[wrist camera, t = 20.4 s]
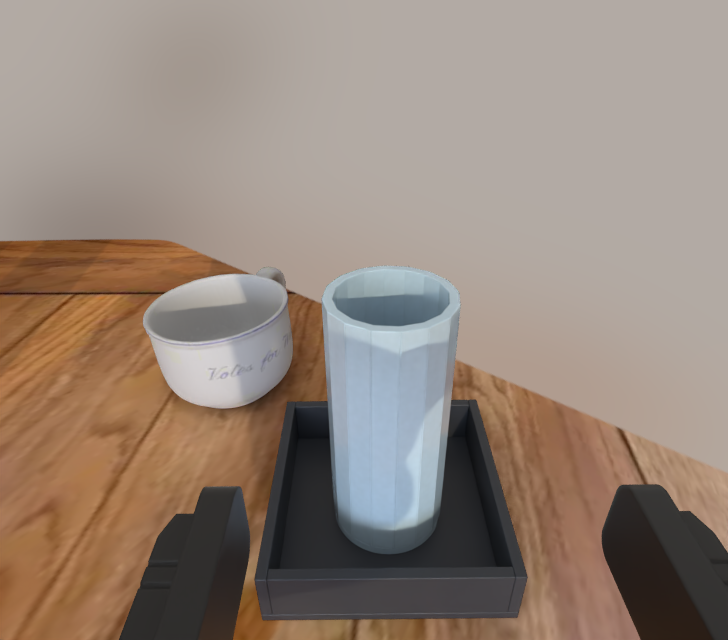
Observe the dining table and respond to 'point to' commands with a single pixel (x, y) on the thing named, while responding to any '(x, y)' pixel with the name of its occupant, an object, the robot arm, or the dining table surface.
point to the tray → (387, 571)
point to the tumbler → (389, 401)
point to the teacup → (223, 337)
